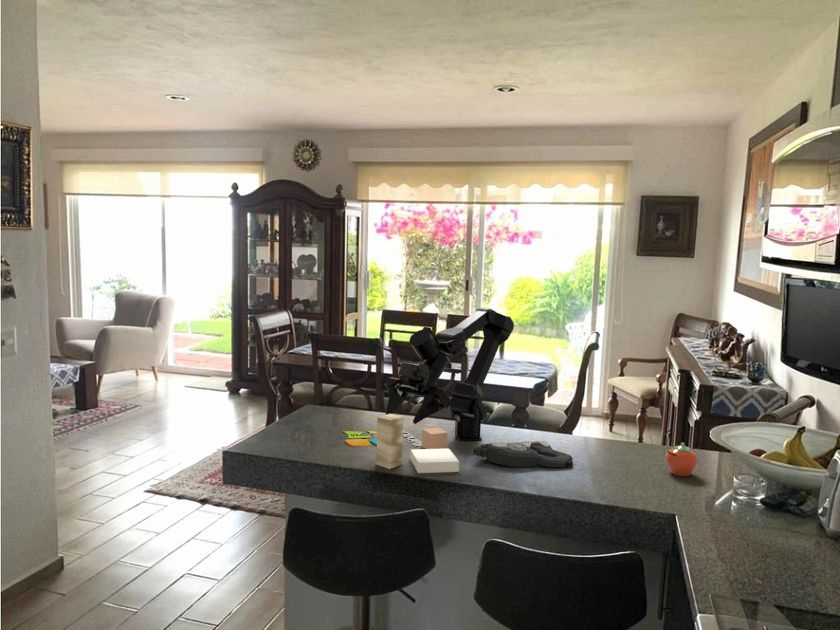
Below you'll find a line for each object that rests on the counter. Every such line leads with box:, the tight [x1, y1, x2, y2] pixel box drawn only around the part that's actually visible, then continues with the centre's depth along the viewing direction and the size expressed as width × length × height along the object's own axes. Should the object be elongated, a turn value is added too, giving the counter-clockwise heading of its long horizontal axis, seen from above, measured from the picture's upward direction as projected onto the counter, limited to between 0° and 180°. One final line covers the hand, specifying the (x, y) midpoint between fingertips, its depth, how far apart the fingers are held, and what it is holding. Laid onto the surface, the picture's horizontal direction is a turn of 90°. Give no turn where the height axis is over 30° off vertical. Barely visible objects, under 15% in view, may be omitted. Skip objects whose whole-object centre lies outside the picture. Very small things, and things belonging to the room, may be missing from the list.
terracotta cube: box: [421, 427, 448, 449], centre depth 163 cm, size 5×5×5 cm
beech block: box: [375, 413, 404, 470], centre depth 148 cm, size 4×4×12 cm
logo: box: [342, 429, 422, 448], centre depth 171 cm, size 23×1×20 cm
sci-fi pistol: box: [472, 440, 574, 468], centre depth 154 cm, size 4×24×15 cm
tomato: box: [665, 442, 699, 477], centre depth 149 cm, size 7×7×8 cm
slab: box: [410, 447, 460, 474], centre depth 149 cm, size 10×10×3 cm
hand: (400, 419), depth 151 cm, fingers open, 9 cm apart
